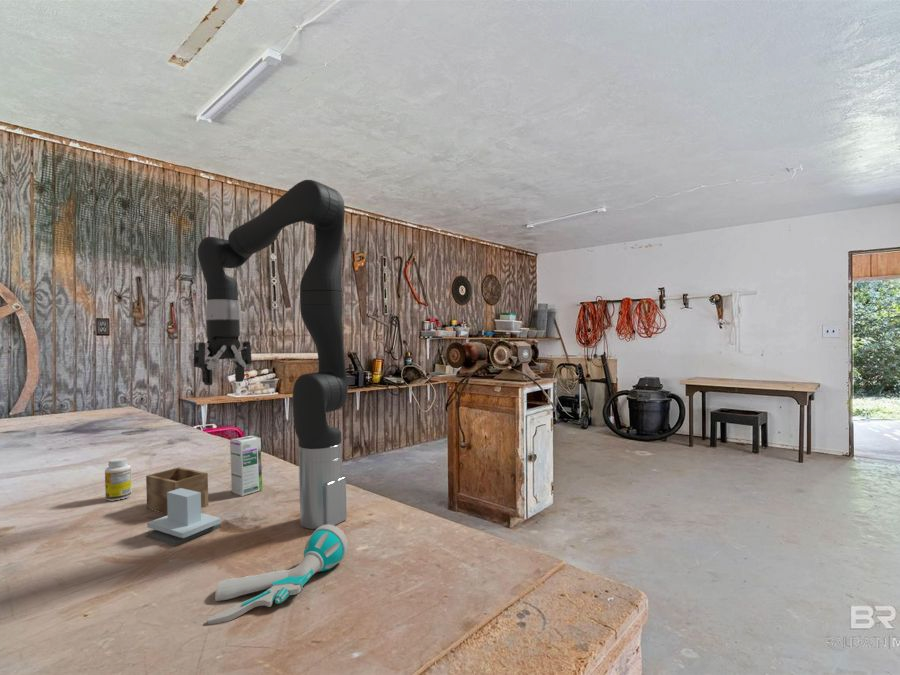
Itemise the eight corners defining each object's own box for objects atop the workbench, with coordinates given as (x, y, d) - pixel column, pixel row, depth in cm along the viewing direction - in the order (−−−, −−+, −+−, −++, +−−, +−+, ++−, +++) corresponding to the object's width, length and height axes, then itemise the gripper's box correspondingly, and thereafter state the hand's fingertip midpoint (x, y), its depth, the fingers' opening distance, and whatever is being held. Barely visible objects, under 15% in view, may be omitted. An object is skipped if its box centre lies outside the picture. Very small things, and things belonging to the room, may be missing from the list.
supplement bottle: (109, 496, 121) (108, 458, 121) (134, 493, 123) (133, 455, 123) (102, 503, 116) (101, 463, 116) (128, 499, 118) (127, 460, 118)
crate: (208, 505, 113) (207, 473, 113) (175, 516, 106) (175, 482, 106) (179, 497, 118) (178, 467, 118) (146, 508, 111) (146, 475, 111)
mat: (221, 526, 99) (221, 524, 99) (175, 545, 91) (175, 542, 91) (193, 518, 104) (193, 516, 104) (146, 536, 95) (146, 533, 95)
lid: (221, 526, 98) (220, 490, 98) (183, 542, 91) (182, 503, 91) (186, 516, 104) (185, 482, 104) (147, 531, 97) (146, 494, 97)
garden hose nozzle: (197, 602, 65) (339, 572, 68) (233, 537, 82) (346, 516, 85) (205, 647, 66) (346, 616, 69) (240, 574, 83) (351, 551, 86)
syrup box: (242, 496, 118) (241, 441, 118) (230, 492, 122) (229, 438, 122) (262, 490, 123) (261, 437, 123) (251, 486, 126) (249, 434, 126)
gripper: (205, 317, 106) (206, 386, 106) (257, 318, 118) (258, 381, 118) (185, 318, 109) (187, 385, 109) (238, 319, 122) (239, 380, 122)
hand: (224, 383), depth 114 cm, fingers open, 8 cm apart
